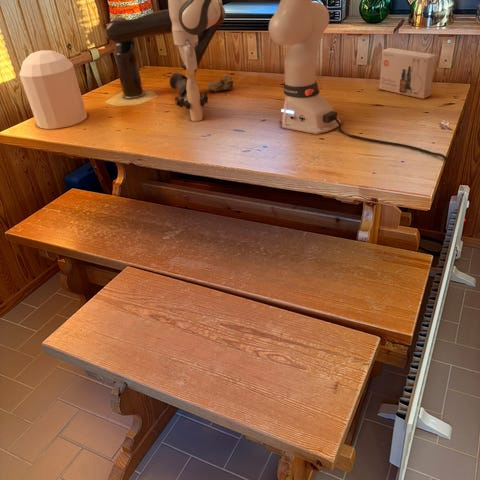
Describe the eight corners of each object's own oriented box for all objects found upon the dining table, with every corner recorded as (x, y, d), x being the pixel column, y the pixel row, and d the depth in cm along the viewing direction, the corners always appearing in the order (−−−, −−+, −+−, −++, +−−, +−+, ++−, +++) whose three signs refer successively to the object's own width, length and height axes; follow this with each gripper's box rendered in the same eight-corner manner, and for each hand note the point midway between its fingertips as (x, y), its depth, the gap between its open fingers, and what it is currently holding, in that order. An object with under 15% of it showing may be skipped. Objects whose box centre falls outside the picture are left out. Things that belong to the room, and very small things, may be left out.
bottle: (201, 116, 186) (195, 69, 176) (203, 119, 182) (197, 72, 172) (190, 118, 186) (182, 70, 175) (191, 121, 182) (184, 74, 171)
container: (71, 129, 186) (49, 56, 170) (26, 128, 191) (0, 58, 175) (96, 110, 202) (78, 43, 186) (54, 111, 207) (33, 45, 191)
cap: (186, 78, 173) (185, 71, 172) (185, 75, 176) (184, 69, 175) (196, 76, 173) (195, 70, 172) (195, 74, 176) (194, 68, 175)
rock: (207, 90, 217) (212, 93, 208) (206, 76, 214) (210, 78, 205) (229, 87, 219) (235, 90, 210) (228, 73, 216) (233, 75, 207)
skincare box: (377, 89, 194) (381, 50, 185) (385, 86, 197) (389, 47, 188) (423, 99, 180) (429, 56, 171) (430, 95, 183) (437, 53, 174)
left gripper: (169, 86, 188) (176, 98, 175) (203, 81, 191) (212, 92, 177) (172, 105, 193) (179, 118, 179) (206, 99, 195) (215, 111, 182)
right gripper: (198, 42, 159) (203, 82, 167) (190, 31, 175) (195, 69, 183) (180, 44, 158) (186, 85, 166) (173, 33, 175) (179, 71, 182)
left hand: (196, 105), depth 178 cm, fingers closed on bottle, 5 cm apart
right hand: (190, 76), depth 175 cm, fingers closed on cap, 4 cm apart
